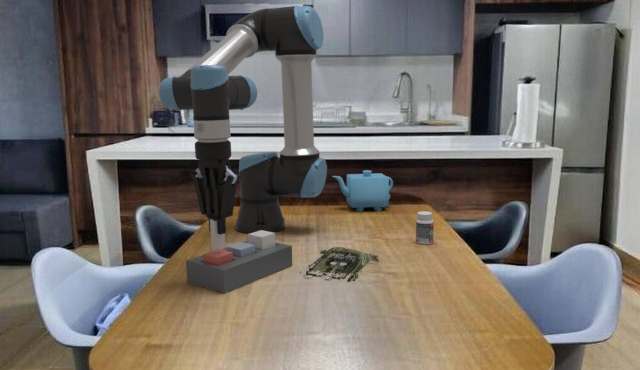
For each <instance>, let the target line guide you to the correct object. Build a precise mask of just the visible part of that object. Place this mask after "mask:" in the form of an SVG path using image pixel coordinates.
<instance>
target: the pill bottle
mask: <svg viewBox="0 0 640 370" xmlns="http://www.w3.org/2000/svg"><path fill="white" fill-rule="evenodd" d="M416 217H417V219H416V220H415V243H416V244H418V245H426V246H427V245H432V244H433V243H434V230H435V229H434V226H435V225H434V223H435V221H434V220H433V213H432V212H431V211H418V212H417V215H416Z"/></svg>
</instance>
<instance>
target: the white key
mask: <svg viewBox="0 0 640 370" xmlns="http://www.w3.org/2000/svg"><path fill="white" fill-rule="evenodd" d="M247 241H248V244H252V245H255V249H259V250H265V249H268V248H271V247H274V246H276V243H277V242H276V232H268V231H263V230H260V231H257V232H254V233H247Z"/></svg>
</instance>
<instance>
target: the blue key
mask: <svg viewBox="0 0 640 370" xmlns="http://www.w3.org/2000/svg"><path fill="white" fill-rule="evenodd" d="M243 242H244V241H243ZM243 242H242V241H240V242H237V243H234V244H231V245H227V246H226V247H227V251H229V252H233V256H236V257H240V258H242V257H245V256H248V255H251V254H254V253H255V245H252V244H247V243H243Z"/></svg>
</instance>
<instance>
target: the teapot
mask: <svg viewBox="0 0 640 370" xmlns="http://www.w3.org/2000/svg"><path fill="white" fill-rule="evenodd" d="M372 172H373V171H372V170H368V169H366V170H362V173H349V174H348V173H347V174H346V184H345V181H344V180H343V178H342V177H341V176H339V175H332V176H331V177H332V178H334V179H335V180H336V181H338V184H339V187H340V191H341V193H342V194H343V195H344V197H346V202H347V204H348V205H349V206H350V208H353V209H355V212H357V213H361V212H362V211H363V212H364V210H365V208H373V210H374V212H383V209H382V208H385V207H387V208H388V207H389V206H390V205H389V204H390V203H389V202H390V201H389V200H390V199H391V194H390V190H391V189H392V188H393V185H394V181H393V179H392V178H391V177H390V176H387V175H385V174H383V173H379V172H378V173H372Z"/></svg>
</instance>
